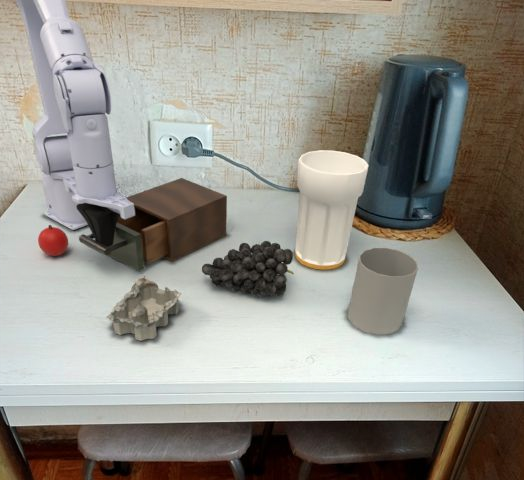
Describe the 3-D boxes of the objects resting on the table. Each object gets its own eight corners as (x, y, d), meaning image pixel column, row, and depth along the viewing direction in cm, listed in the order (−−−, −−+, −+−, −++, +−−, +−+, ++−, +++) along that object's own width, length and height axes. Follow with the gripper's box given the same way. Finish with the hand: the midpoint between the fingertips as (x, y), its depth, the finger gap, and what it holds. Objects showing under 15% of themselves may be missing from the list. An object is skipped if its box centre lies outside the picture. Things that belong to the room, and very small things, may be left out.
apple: (35, 253, 88) (28, 224, 85) (60, 244, 91) (53, 216, 88) (52, 263, 86) (45, 234, 83) (76, 253, 89) (70, 225, 86)
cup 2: (389, 341, 75) (405, 283, 68) (339, 321, 78) (349, 264, 71) (409, 314, 80) (425, 258, 74) (361, 297, 83) (373, 242, 77)
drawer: (116, 282, 81) (110, 246, 77) (76, 259, 86) (69, 224, 82) (195, 244, 92) (195, 211, 88) (156, 225, 97) (154, 193, 93)
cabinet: (171, 262, 89) (169, 219, 83) (127, 240, 94) (122, 198, 89) (226, 235, 97) (227, 195, 92) (183, 216, 103) (181, 177, 98)
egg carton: (146, 295, 80) (144, 272, 78) (187, 308, 78) (186, 285, 76) (103, 331, 73) (99, 307, 70) (148, 346, 71) (145, 323, 68)
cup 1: (335, 240, 99) (350, 148, 88) (361, 269, 90) (381, 172, 79) (280, 245, 96) (288, 151, 85) (302, 276, 87) (314, 176, 76)
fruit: (196, 238, 77) (295, 248, 75) (209, 231, 84) (299, 240, 83) (194, 294, 80) (289, 305, 78) (207, 282, 87) (294, 292, 86)
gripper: (39, 155, 75) (57, 238, 84) (101, 182, 68) (114, 270, 77) (80, 144, 79) (93, 225, 88) (142, 169, 73) (150, 254, 82)
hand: (105, 245), depth 83 cm, fingers closed, pressing on drawer
